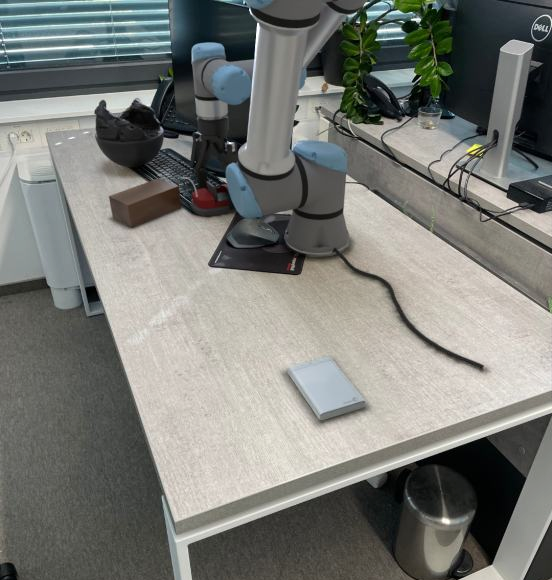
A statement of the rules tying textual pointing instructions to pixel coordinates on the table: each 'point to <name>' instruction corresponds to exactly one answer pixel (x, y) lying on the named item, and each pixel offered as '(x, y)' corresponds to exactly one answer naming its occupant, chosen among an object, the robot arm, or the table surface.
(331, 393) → the hard drive
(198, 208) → the bumper car
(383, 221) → the table surface
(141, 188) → the walnut block
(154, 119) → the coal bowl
